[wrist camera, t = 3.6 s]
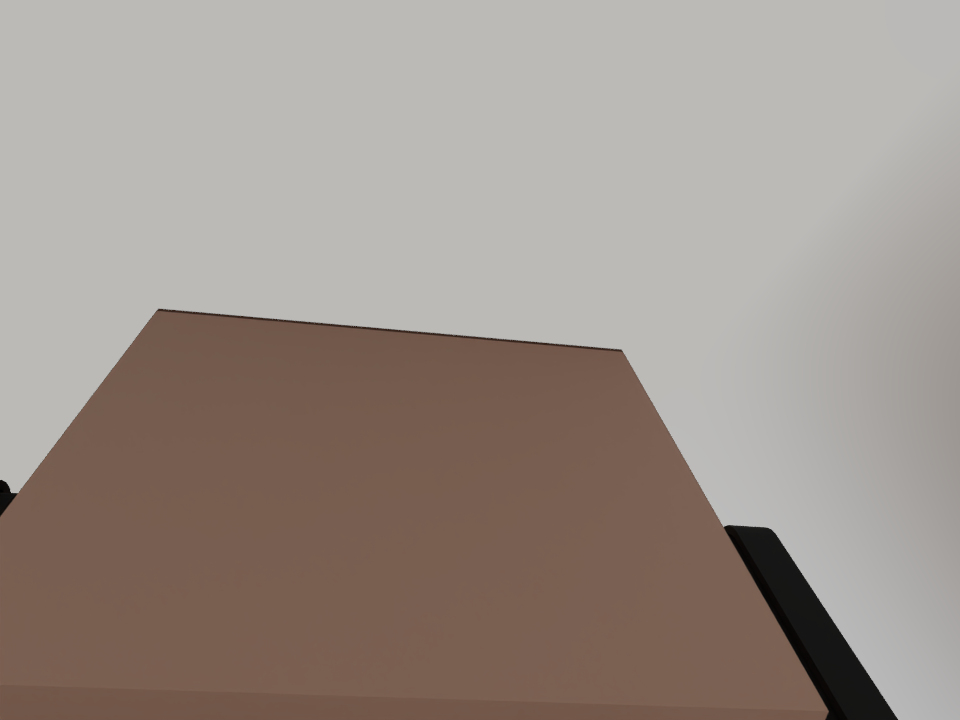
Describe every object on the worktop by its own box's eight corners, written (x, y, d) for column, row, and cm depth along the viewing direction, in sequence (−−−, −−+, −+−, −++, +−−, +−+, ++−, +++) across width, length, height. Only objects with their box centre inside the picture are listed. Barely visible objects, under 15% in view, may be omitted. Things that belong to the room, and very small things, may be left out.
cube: (621, 349, 11) (828, 710, 6) (548, 680, 13) (642, 1155, 8) (158, 308, 10) (-125, 680, 5) (171, 666, 13) (-7, 1179, 7)
